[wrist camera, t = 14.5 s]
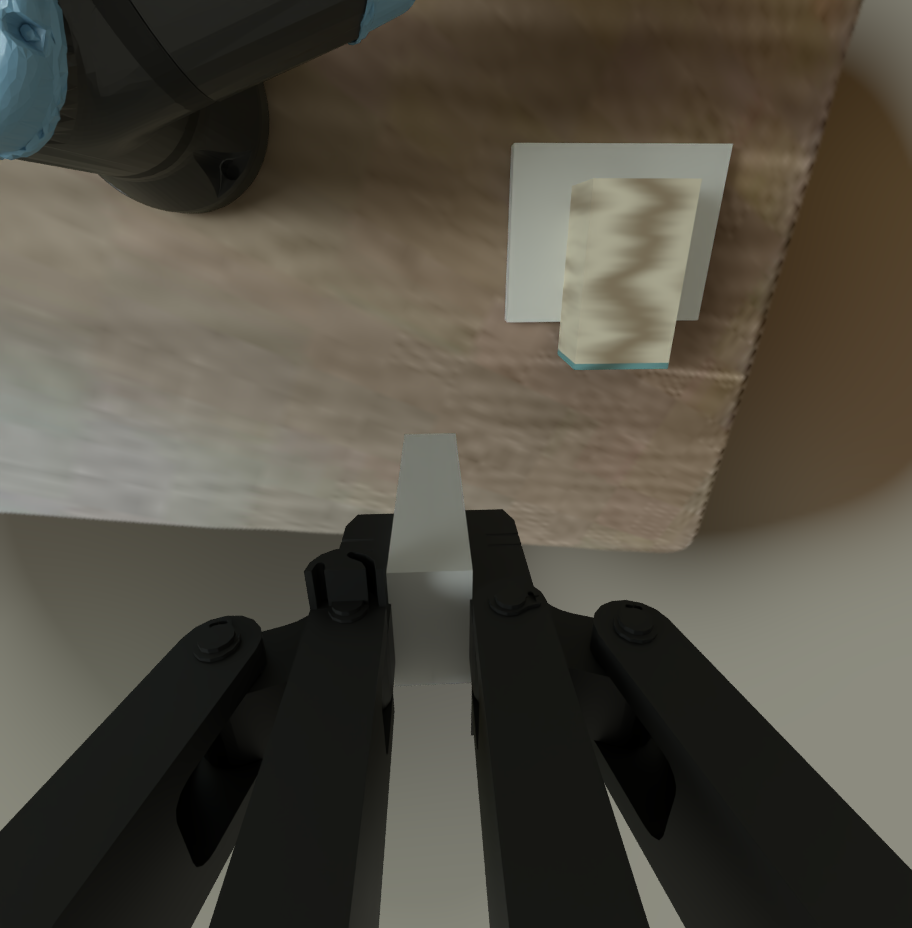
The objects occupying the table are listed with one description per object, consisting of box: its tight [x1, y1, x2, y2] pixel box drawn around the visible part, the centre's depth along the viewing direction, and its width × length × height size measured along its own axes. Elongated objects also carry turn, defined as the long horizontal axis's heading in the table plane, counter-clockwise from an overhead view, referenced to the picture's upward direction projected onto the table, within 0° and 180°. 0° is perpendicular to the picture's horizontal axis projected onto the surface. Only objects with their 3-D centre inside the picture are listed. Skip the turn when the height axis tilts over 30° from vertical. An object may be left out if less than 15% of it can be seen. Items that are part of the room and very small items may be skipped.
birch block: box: [558, 178, 702, 370], centre depth 41 cm, size 8×6×14 cm
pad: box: [505, 143, 733, 322], centre depth 43 cm, size 18×14×2 cm
